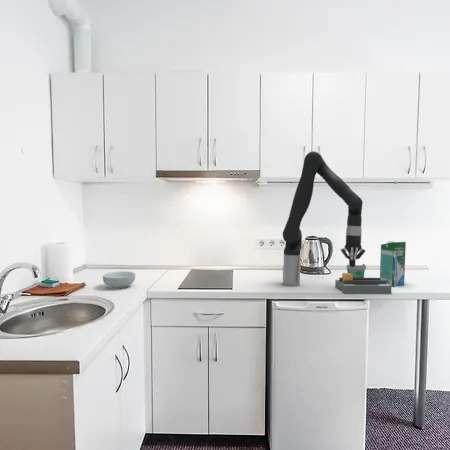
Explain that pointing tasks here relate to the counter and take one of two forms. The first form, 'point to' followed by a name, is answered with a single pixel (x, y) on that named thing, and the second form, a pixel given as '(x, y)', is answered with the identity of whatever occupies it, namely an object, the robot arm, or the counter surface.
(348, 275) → the switch knob
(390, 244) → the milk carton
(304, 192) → the robot arm
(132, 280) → the cereal bowl
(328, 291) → the counter surface
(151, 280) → the counter surface
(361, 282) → the switch plate
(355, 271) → the food container
